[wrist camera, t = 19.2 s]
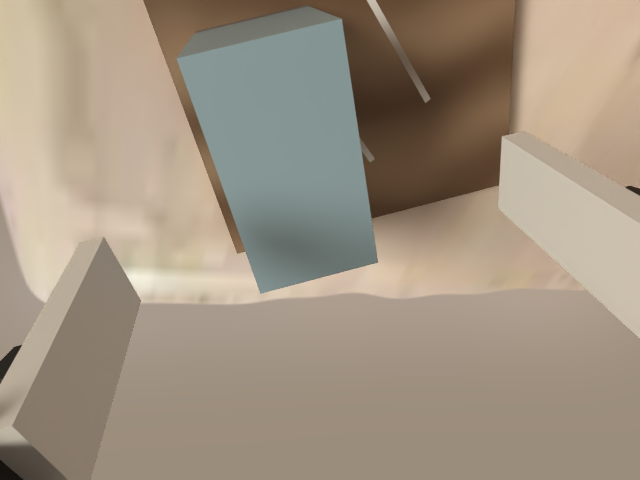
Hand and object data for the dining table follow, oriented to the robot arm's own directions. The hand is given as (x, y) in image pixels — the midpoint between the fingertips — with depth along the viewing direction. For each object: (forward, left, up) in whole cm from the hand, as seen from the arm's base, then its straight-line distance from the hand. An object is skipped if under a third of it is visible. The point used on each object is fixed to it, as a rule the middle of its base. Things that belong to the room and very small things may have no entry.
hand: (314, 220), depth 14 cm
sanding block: (0, 0, -13) cm, 13 cm away
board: (0, +5, -15) cm, 16 cm away
